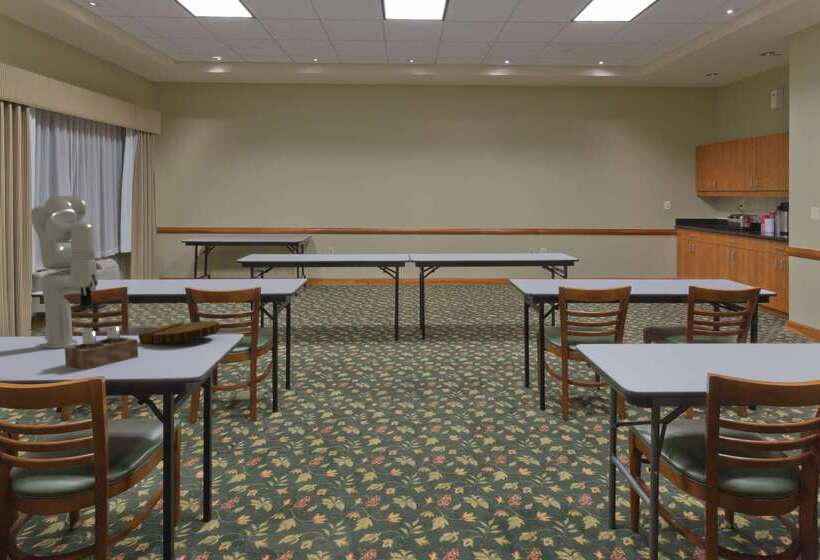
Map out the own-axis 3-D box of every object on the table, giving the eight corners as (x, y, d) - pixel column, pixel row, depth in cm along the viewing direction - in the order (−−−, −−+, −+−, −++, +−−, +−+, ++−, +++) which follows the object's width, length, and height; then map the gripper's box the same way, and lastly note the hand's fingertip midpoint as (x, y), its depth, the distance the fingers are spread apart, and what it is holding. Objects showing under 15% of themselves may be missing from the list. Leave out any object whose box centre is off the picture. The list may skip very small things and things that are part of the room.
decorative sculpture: (135, 350, 254) (197, 345, 247) (133, 335, 253) (195, 330, 247) (176, 335, 283) (232, 331, 276) (174, 322, 282) (230, 317, 276)
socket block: (65, 365, 220) (64, 346, 219) (118, 353, 240) (117, 335, 239) (85, 369, 215) (84, 349, 214) (138, 356, 234) (137, 338, 233)
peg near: (81, 351, 221) (79, 332, 220) (91, 349, 225) (90, 330, 224) (88, 353, 219) (87, 333, 218) (99, 350, 223) (98, 331, 222)
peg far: (105, 346, 230) (104, 327, 229) (115, 344, 234) (114, 325, 233) (112, 347, 228) (111, 328, 227) (122, 345, 232) (121, 326, 231)
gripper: (61, 256, 218) (64, 305, 220) (86, 257, 211) (89, 307, 213) (80, 255, 225) (83, 302, 227) (105, 256, 218) (108, 305, 220)
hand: (86, 305), depth 220 cm, fingers closed
